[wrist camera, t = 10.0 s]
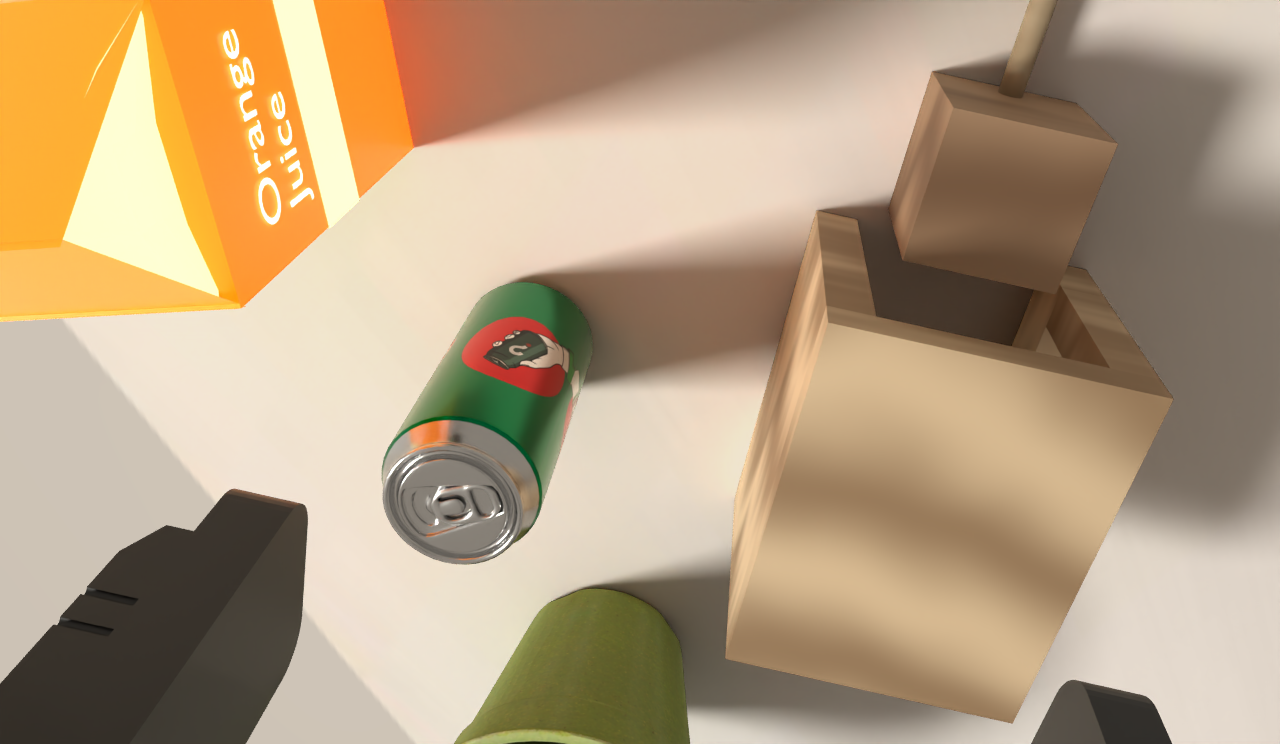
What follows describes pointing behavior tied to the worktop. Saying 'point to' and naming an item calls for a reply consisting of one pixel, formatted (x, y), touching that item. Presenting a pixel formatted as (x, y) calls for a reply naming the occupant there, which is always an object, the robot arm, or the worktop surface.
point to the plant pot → (589, 678)
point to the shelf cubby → (930, 487)
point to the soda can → (488, 426)
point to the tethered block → (999, 174)
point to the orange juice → (182, 146)
